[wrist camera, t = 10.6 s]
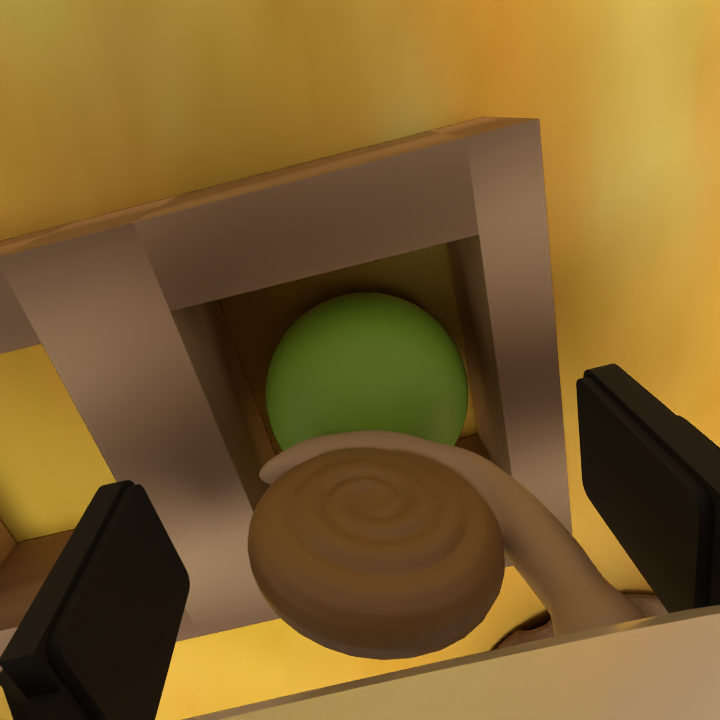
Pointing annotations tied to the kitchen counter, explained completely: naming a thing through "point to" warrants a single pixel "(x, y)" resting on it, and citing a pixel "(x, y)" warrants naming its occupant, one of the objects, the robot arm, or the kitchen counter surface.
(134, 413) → the brown wooden flat frame
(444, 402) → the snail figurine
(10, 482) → the kitchen counter surface
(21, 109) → the kitchen counter surface
